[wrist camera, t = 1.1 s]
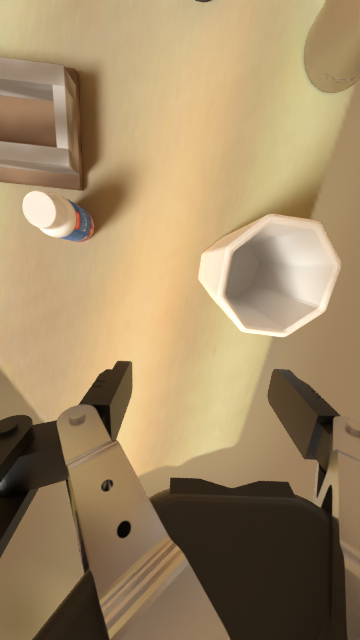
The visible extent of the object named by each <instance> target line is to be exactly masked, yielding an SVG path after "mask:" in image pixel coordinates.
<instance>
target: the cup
mask: <svg viewBox="0 0 360 640" xmlns="http://www.w3.org/2000/svg"><path fill="white" fill-rule="evenodd" d="M340 268H341V261H340V259H339V257H338V255H337V253H336V251H335V249H334V247H333V245H332V243H331V241H330V239H329V237H328V235H327V233H326V231H325V229H324V227H323V225H322V223H321V222H320V221H318V220H312V219H305V218H298V217H292V216H285V215H279V214H268V215H266V216H264V217H262V218H260V219H258V220H256V221H254V222H252V223H250V224H248V225H246V226H244V227H242V228H240V229H238V230H236V231H234V232H232V233H230V234H228V235H226V236H224V237H222V238H221V239H220V240H218V241H217V242H216V243H214V244H213V245H212V246H211V247H209V248H208V249H207V250H206V251H204V252H203V253H202V256H201V263H200V269H199V276H198V279H199V281H200V282H201V283H202V285H203V286H204V288H205V289H206V290H207V292H208V293H209V294H210V296H211V297H212V298H213V299H214V301H215V302H216V303H217V304H218V305H219V306H220V307H221V309H222V310H223V311H224V312H225V313H226V314H227V315H228V317H229V318H230V319H231V320H232V321H233V322H234V323H235V325H236V326H237V327H238V328H239V329H240V330H241V331H242V332H247V333H255V334H263V335H271V336H279V337H285V336H288V335H289V334H291V333H292V332H294V331H295V330H297V329H298V328H300V327H302V326H303V325H305V324H306V323H308V322H309V321H311V320H312V319H314V318H315V317H317V316H319V315H320V314H322V313H323V312H324V311H325V310H326V308H327V305H328V303H329V300H330V297H331V294H332V291H333V288H334V285H335V282H336V280H337V277H338V274H339V271H340Z"/></svg>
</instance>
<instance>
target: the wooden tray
mask: <svg viewBox="0 0 360 640" xmlns="http://www.w3.org/2000/svg"><path fill="white" fill-rule="evenodd" d="M0 182H6V183H16V184H25V185H35V186H44V187H54V188H63V189H72V190H82V191H83V174H82V150H81V125H80V101H79V77H78V74H77V72H76V70H75V69H73V68H65V67H64V65H58V64H50V63H42V62H34V61H26V60H19V59H11V58H3V57H0Z"/></svg>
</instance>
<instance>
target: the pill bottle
mask: <svg viewBox="0 0 360 640" xmlns="http://www.w3.org/2000/svg"><path fill="white" fill-rule="evenodd" d="M22 207H23V212H24V215H25V217H26V218H27V220H28V221H29V222H30V223H31V224H33V225H34V226H36V227H39V228H40V229H41V230H42V231H43V232H44V233H46V234H47V235H49V236H53V237H57V238H61V239H66V240H71V241H76V242H83V241H86V240H88V239H89V238H90V237H91V236H92V234H93V231H94V222H93V219H92V217H91V215H90V214H89V213H88V212H87V211H86V210H85V209H84V208H82V207H80V206H78V205H77V204H75V203H73V202H71V201H70V200H68V199H66V198H64V197H63V196H61V195H59V194H56V193H51V192H48V193H43V192H40V191H32V192H30V193H28V194H27V195H26V196H25V198H24V200H23V205H22Z"/></svg>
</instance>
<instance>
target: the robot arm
mask: <svg viewBox="0 0 360 640" xmlns="http://www.w3.org/2000/svg"><path fill="white" fill-rule="evenodd" d="M304 61H305V68H306V71H307V75H308V77H309V79H310V80H311V82H312V83H313V84H314V85H315V86H316V87H317V88H318V89H320V90H322V91H325V92H338V91H342V90H344V89H346V88H348V87H349V86H351V85H352V84H353V83H354V82H355V81H357V79H358V78H359V77H360V0H326V2H325V4H324V6H323V8H322V9H321V11H320V13H319V15H318V16H317V18H316V20H315V22H314V24H313V25H312V27H311V29H310V31H309V34H308V37H307V40H306V45H305V52H304ZM131 394H132V362H131V361H117V363H116V364H115V366H114V368H113V369H112V370H111V369H107V370H105V371H104V372H102V373H101V374H99V376H98V377H97V379H96V380H95V382H94V383H93V385H92V387H90V389H89V390H88V392H87V393H86V395H85V396H84V398H83V399H82V401H81V402H80V403H79V405H77V406H74V407H71V408H69V409H67V410H66V411H64V412H63V413H62V414H61V415H60V416H59V417H58V419H57V420H56V421H52V422H47V423H41V424H36V425H33V423H32V419H31V418H30V417H29V416H26V415H16V416H11V417H8V418H5V419H3V420H1V421H0V557H1V556H2V554H3V552H4V550H5V548H6V546H7V545H8V543H9V541H10V539H11V538H12V536H13V534H14V532H15V530H16V528H17V527H18V525H19V523H20V521H21V519H22V517H23V516H24V514H25V512H26V510H27V509H28V507H29V505H30V503H31V501H32V500H33V498H34V496H35V494H36V492H37V491H38V489H39V488H40V487H43V486H47V485H50V484H54V483H57V482H60V481H64V480H65V483H66V488H67V492H68V498H69V502H70V507H71V512H72V517H73V521H74V526H75V532H76V537H77V543H78V548H79V553H80V558H81V564H82V569H83V573H84V575H83V577H82V578H81V579H80V581H79V582H78V583H77V584H76V585H75V587H74V588H73V589H72V590H71V592H70V593H69V594H68V595H67V597H66V598H65V599H64V600H63V602H62V603H61V604H60V605H59V607H58V608H57V609H56V611H55V612H54V613H53V614H52V616H51V617H50V618H49V619H48V621H47V622H46V623H45V624H44V626H43V627H42V628H41V629H40V631H39V632H38V633H37V634H36V636H35V637H34V638H33V639H32V640H360V422H359V421H357V420H355V419H352V418H349V417H345V416H340V415H339V414H338V413H337V412H336V411H335V410H334V409H333V408H332V407H331V406H330V405H329V404H328V403H327V402H326V401H325V400H324V399H323V398H321V396H320V395H319V394H318V393H316V391H314V390H313V389H312V388H311V387H310V386H309V385H308V384H306V383H305V382H303V381H301V380H300V379H298V378H297V377H296V376H295V375H294V374H293V373H292V372H291V371H290V370H285V369H274V370H273V372H272V376H271V381H270V385H269V390H268V401H269V404H270V405H271V407H272V408H273V410H274V412H275V413H276V415H277V416H278V418H279V420H280V421H281V423H282V424H283V426H284V428H285V429H286V431H287V432H288V434H289V435H290V437H291V439H292V440H293V442H294V444H295V445H296V447H297V448H298V450H299V451H300V453H301V454H302V456H303V458H304V459H315V460H317V461H318V465H317V469H316V478H315V489H314V500H313V503H312V502H310V501H308V500H307V499H304V498H302V497H300V496H298V495H295V494H294V493H293V491H292V489H291V487H290V485H289V483H288V482H276V481H257V482H254V483H250V484H247V485H243V486H240V487H236V488H228V487H225V486H222V485H218V484H215V483H212V482H208V481H205V480H202V479H194V478H170V489H167V490H164V491H162V492H159V493H157V494H155V495H153V496H152V497H150V498H148V496H147V494H146V492H145V490H144V489H143V487H142V485H141V483H140V481H139V479H138V477H137V475H136V474H135V472H134V470H133V468H132V466H131V464H130V462H129V460H128V458H127V457H126V455H125V453H124V451H123V449H122V447H121V445H120V443H119V442H118V441H117V440H116V438H117V435H118V432H119V430H120V427H121V424H122V421H123V418H124V415H125V412H126V409H127V406H128V404H129V401H130V398H131Z"/></svg>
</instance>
